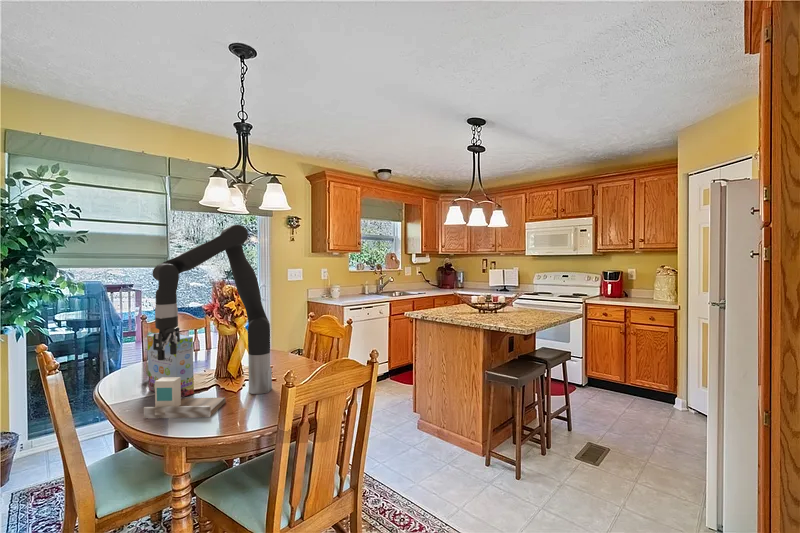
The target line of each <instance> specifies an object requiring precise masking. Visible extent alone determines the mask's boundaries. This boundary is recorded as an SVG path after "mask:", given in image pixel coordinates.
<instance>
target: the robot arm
mask: <svg viewBox="0 0 800 533" xmlns="http://www.w3.org/2000/svg"><path fill="white" fill-rule="evenodd" d="M248 237H249V232H248V229H247V228H245V226H243V225H241V224H232V225H228V226H227V227H225V228H223V229H222V230H221V232H220V235H218V236H217V237H214V238H212V239H211V240H208V241H206V242H204V243H202V244H199V245H196V246H195V247H193V248H191V249H188V250H186V251H184V252H183V253H181V254H179V255H178V256H176V257H172V258H170V259H168V260H165V261H163V262H161V263H159V264H157V265H156V266H154V268H153V270H152V277H153V279H155V281H157V282H158V288H157V289H156V291H155V307H154V317H155V318H154V323H155V324H154V325H155V326H154V327H155V329H156V330H158V333H159V334H156V333H153V334H154V335H153V350H157V351H158V360H165V350H164V349H165V346H166V345H167V344H168V342H169V343H170V354H171V355H175V354H177V344H178V342H180V335H181V333H180V327H179V315H178V314H179V312H178V311H179V308H178V302H177V300H178V299H177V298H178V297H177V295H178V294H177V290H178V286H179V282H180V278H179V277H180V274H181V273H184V272H188V271H191V270H193V269H195V268H196V267H198V266H201V265H202V264H204V263H206V261H209V260H210V259H212V258H213V257H215V256H218V255H219V254H220V253H223V252H224V251H225V253H226V256H227V258H228V262H229V265H230V269H231V273H232V277H233V280H234V284H235V287H236V291H237V294H238V297H239V298H240V301H241V302H242V304H243V307H244V309H245V313H246V317H247V322H248V327H247V351H248V352H247V353H248V359H247V360H248V364H247V365H248V393H249V394H251V395H262V394H269V392H271V390H272V389H273V377H272V376H273V372H272V371H273V370H272V369H273V368H272V367H271V323H270V321H269V318H268V317H267V314H266V312H265V309H264V306H263V304H262V302H263V301H262V296H261V291H260V284H259V281H258V278H257V275H256V272H255V269H254V268H253V266H252V265H251V264H250V262H249V261H248V260H247V258H246V255H245V253H244V249H243V245H244V244H245V243H246V241H247V240H248V239H249V238H248ZM176 336H177V337H176ZM156 344H158V345H157V347H156ZM162 345H163V346H162Z"/></svg>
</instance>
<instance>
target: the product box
mask: <svg viewBox="0 0 800 533" xmlns="http://www.w3.org/2000/svg"><path fill="white" fill-rule="evenodd" d="M154 399H155V400H154V401H155V405H154V406H155V407H169V406H180V405H181V377H162V378H160V379H158V380H157V381H155V392H154Z"/></svg>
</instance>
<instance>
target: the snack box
mask: <svg viewBox="0 0 800 533" xmlns="http://www.w3.org/2000/svg"><path fill="white" fill-rule="evenodd" d="M154 334H159V332H157V333H152V334H147V335H146V341H147V342H146V344H147V349H148V350H147V362H148V375H149V377H148V390H149V392H154V393H155V381H157V380H158V379H160V378H162V377H181V398H186V397H187V396H191V395H195V385H194V384H195V383H194V379H195V378H194V341H193V340H194V337H193V336H189V335H185V334H180V342H178V344H177V354H175V355H171V354H170V343H169V342H168V344H167V345H166V346H165V349H164V350H165V360H158V351H157V350H153V335H154ZM176 337H177V336H176ZM157 345H158V344H156V347H157ZM162 346H163V345H162Z"/></svg>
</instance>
